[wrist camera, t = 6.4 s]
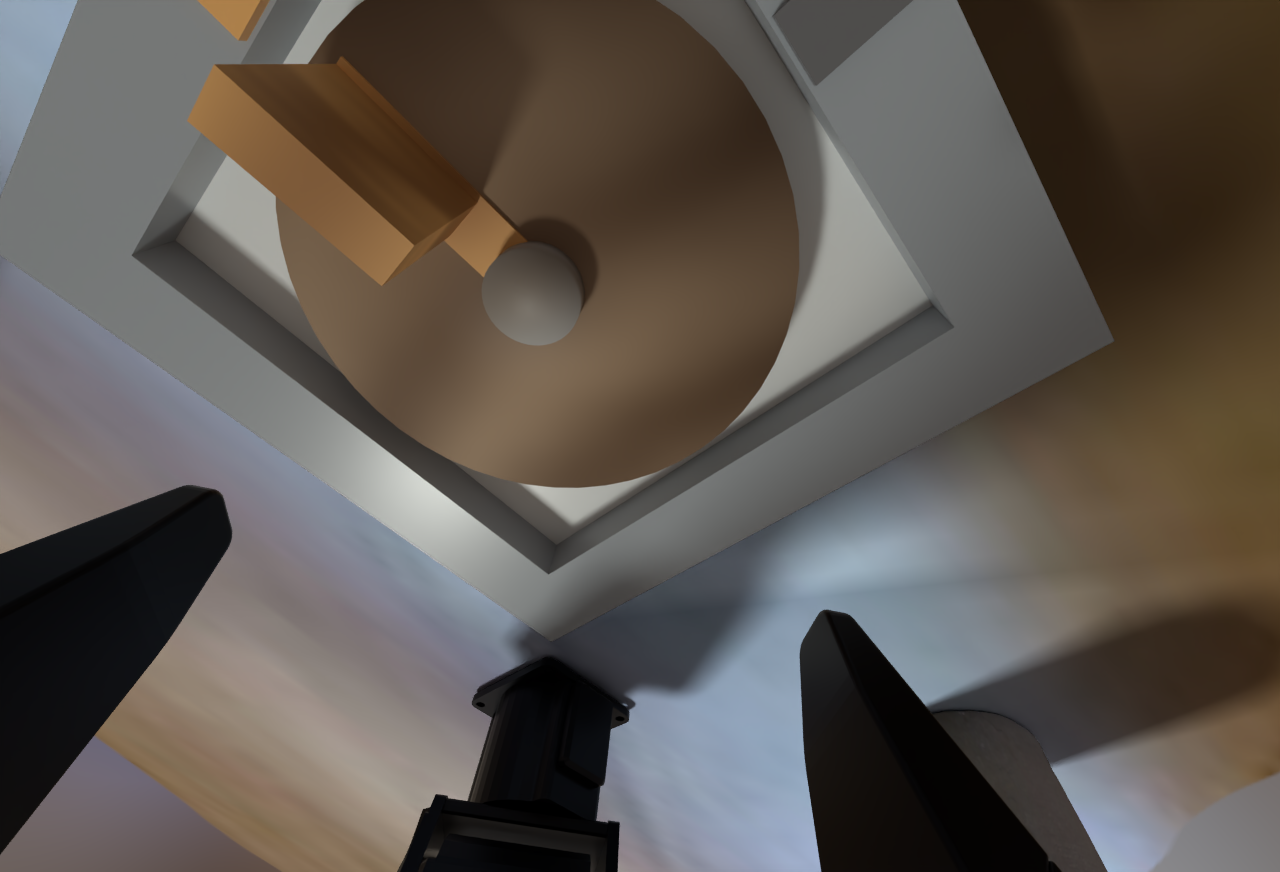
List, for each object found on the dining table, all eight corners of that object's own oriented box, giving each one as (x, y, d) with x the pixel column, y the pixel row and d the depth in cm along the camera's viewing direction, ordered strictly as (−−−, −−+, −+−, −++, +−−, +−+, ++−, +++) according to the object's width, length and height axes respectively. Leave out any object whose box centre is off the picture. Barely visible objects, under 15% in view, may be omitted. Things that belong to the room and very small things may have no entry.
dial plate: (562, 594, 26) (549, 647, 24) (68, 220, 18) (-30, 245, 15) (1059, 305, 17) (1121, 345, 15) (533, -751, 9) (474, -1070, 6)
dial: (890, 292, 16) (967, 379, 11) (563, 525, 22) (533, 639, 17) (512, -235, 11) (394, -439, 6) (219, 259, 17) (55, 328, 12)
